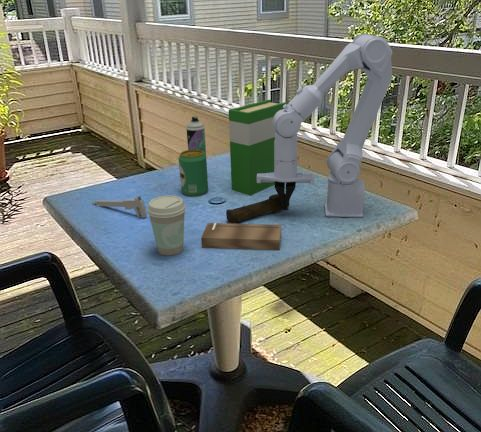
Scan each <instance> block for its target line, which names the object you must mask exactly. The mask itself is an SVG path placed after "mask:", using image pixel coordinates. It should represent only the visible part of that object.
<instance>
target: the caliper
mask: <svg viewBox="0 0 481 432" xmlns="http://www.w3.org/2000/svg"><path fill="white" fill-rule="evenodd" d="M95 204H96V205H99V206H98V207H115V208H116V207H117V208H124V210H126V211H127V210H132V209H133V211H134V212H135V214H136V216H137V218H139V217H140V218H142V219H145V218H147V210H146V209H147V207H146V204H145V201H144V199H142V197H141V195H139V196H138V195H136V196H134V198H132V199H128V198H127V199H123V200H108V199H107V200H103V199H97V200H95V201H94V202H92V203H91V205H95ZM96 205H95V206H96ZM141 216H142V217H141Z"/></svg>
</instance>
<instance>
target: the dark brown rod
mask: <svg viewBox="0 0 481 432" xmlns="http://www.w3.org/2000/svg"><path fill="white" fill-rule="evenodd" d="M285 200H286V193H285ZM289 207H290V203H289V204H288V208H289ZM282 211H283V210H282V205H281V201H280V198H279V196H278V194H272V195H269V197H268V198H267V199H265V200H262V201H258V202H254V203H251V204H248V205H243V206H240V207H236V208H233V209H226V215H225V216H226V220H227V223H229V224H240V222H241V221H245V220H248V219H251V218H256V217H258V216H261V215H264V214H267V213H272V214H276V213H280V212H282Z"/></svg>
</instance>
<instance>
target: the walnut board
mask: <svg viewBox="0 0 481 432" xmlns="http://www.w3.org/2000/svg"><path fill="white" fill-rule="evenodd" d="M200 238H201V248H206V249H207V248H209V249H211V248H213V249H237V250H239V249H240V250H241V249H242V250H264V251H265V250H266V251H267V250H269V251H272V250H273V251H280V249H281V239H282V224H261V223H260V224H258V223H256V224H255V223H235V224H230V223H229V222H226V223H224V222H207V223H206V225H205V228H204V230H203V233H202V235H201V237H200Z"/></svg>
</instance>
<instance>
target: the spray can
mask: <svg viewBox="0 0 481 432" xmlns="http://www.w3.org/2000/svg"><path fill="white" fill-rule="evenodd" d="M205 129H206V128H205V124H204V123H202V121H200V120H199V117H198V116H195V115H192V116H191V120H190V122H189V123H187V124H186V137H187V138H186V140H187V150H201V151H203V152H204V154H205V156H206V157H207V151H206V150H207V147H206V131H205ZM206 163H207V164H208V162H207V160H206ZM207 179H209V178H208V177H207Z"/></svg>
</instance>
